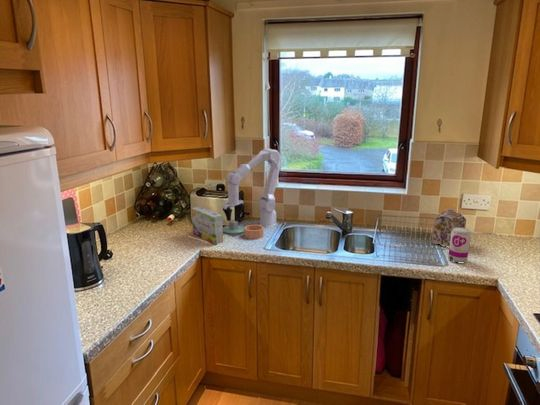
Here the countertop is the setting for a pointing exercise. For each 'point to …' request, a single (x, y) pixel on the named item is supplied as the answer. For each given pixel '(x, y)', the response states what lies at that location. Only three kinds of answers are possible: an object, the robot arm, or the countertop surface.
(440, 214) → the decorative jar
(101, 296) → the countertop surface
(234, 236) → the mat
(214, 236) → the snack box
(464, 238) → the supplement can
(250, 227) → the bucket
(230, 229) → the lid
